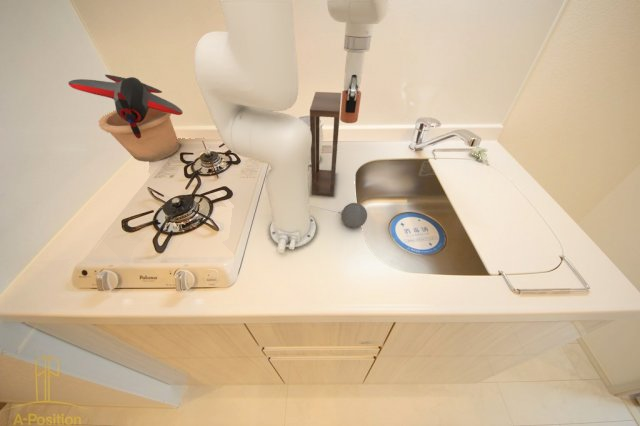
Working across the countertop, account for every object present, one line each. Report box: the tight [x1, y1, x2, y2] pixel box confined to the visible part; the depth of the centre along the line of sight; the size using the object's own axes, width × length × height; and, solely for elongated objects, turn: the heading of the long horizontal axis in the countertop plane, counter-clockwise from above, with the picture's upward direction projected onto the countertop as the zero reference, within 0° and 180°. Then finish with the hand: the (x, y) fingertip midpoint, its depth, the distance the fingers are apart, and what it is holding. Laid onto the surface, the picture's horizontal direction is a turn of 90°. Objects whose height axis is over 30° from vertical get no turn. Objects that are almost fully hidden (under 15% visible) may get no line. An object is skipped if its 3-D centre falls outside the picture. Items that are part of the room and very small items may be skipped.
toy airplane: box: [68, 74, 184, 139], centre depth 70 cm, size 28×24×15 cm
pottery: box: [98, 108, 181, 163], centre depth 82 cm, size 22×22×14 cm
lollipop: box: [311, 202, 368, 229], centre depth 62 cm, size 10×20×7 cm, turn 85°
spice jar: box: [339, 89, 362, 124], centre depth 75 cm, size 6×6×9 cm
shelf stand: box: [309, 91, 342, 197], centre depth 64 cm, size 12×7×27 cm, turn 174°
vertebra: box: [470, 145, 489, 162], centre depth 83 cm, size 6×7×4 cm
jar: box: [296, 114, 324, 166], centre depth 79 cm, size 11×10×15 cm
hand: (350, 107), depth 75 cm, fingers closed on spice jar, 6 cm apart
